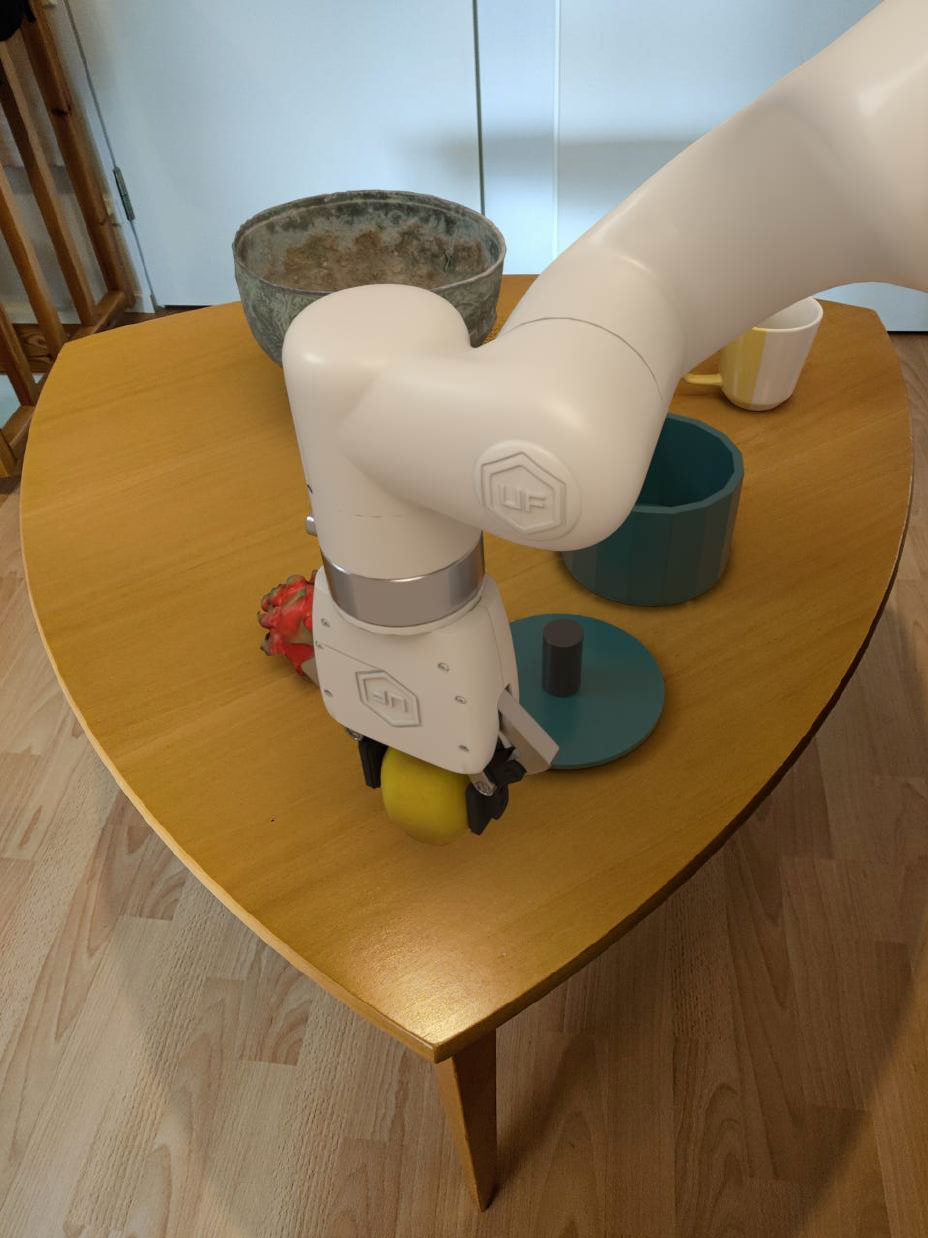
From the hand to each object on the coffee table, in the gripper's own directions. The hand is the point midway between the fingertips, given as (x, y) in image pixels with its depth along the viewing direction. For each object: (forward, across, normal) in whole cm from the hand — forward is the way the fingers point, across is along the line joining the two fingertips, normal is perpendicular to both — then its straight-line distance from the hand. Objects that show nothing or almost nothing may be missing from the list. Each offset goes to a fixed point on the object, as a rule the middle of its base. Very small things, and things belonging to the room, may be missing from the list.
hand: (435, 791), depth 59 cm
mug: (+11, -3, +67) cm, 68 cm away
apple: (+3, 0, 0) cm, 3 cm away
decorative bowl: (+10, -36, +47) cm, 60 cm away
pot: (+10, -2, +38) cm, 39 cm away
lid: (+10, -1, +19) cm, 21 cm away
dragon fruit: (+10, -19, +14) cm, 25 cm away
